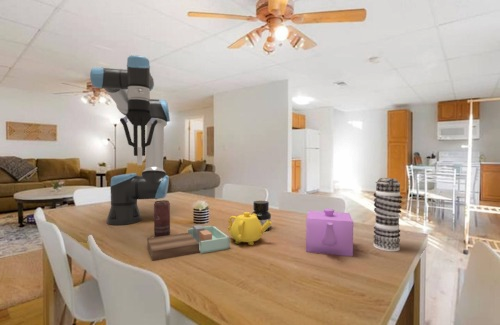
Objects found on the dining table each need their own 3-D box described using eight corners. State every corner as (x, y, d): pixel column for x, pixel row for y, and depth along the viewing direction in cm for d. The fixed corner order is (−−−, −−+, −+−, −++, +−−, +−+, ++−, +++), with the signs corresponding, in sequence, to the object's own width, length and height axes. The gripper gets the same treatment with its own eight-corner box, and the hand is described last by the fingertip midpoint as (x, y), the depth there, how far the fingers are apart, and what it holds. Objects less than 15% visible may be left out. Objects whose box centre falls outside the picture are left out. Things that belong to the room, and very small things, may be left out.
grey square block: (193, 225, 102) (200, 224, 103) (193, 238, 102) (200, 237, 103) (196, 229, 97) (204, 228, 99) (196, 242, 98) (204, 241, 99)
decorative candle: (390, 253, 89) (392, 180, 88) (366, 245, 97) (368, 178, 96) (406, 249, 93) (408, 179, 92) (382, 241, 102) (384, 177, 101)
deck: (147, 246, 95) (147, 238, 95) (188, 240, 102) (188, 232, 102) (152, 260, 83) (152, 251, 82) (199, 252, 90) (199, 243, 89)
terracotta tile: (199, 231, 95) (207, 230, 96) (199, 244, 95) (207, 243, 96) (203, 235, 90) (212, 233, 92) (203, 249, 91) (212, 247, 92)
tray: (188, 238, 103) (188, 228, 103) (213, 235, 108) (213, 225, 108) (201, 253, 88) (201, 242, 88) (229, 248, 93) (229, 237, 93)
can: (165, 237, 104) (165, 203, 104) (151, 236, 106) (151, 202, 105) (173, 233, 110) (173, 200, 110) (159, 232, 112) (159, 199, 111)
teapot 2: (304, 260, 84) (305, 216, 83) (308, 236, 108) (309, 202, 107) (355, 265, 80) (356, 220, 79) (347, 239, 104) (348, 204, 103)
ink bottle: (259, 232, 112) (259, 204, 111) (246, 228, 118) (246, 201, 118) (275, 228, 118) (275, 202, 118) (261, 224, 125) (262, 199, 124)
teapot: (272, 244, 98) (273, 214, 98) (239, 249, 92) (239, 218, 92) (255, 233, 111) (255, 207, 111) (225, 237, 105) (225, 210, 105)
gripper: (119, 96, 89) (120, 165, 90) (159, 100, 95) (159, 165, 96) (118, 100, 96) (119, 164, 97) (156, 103, 102) (156, 164, 103)
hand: (139, 164), depth 96 cm, fingers closed
